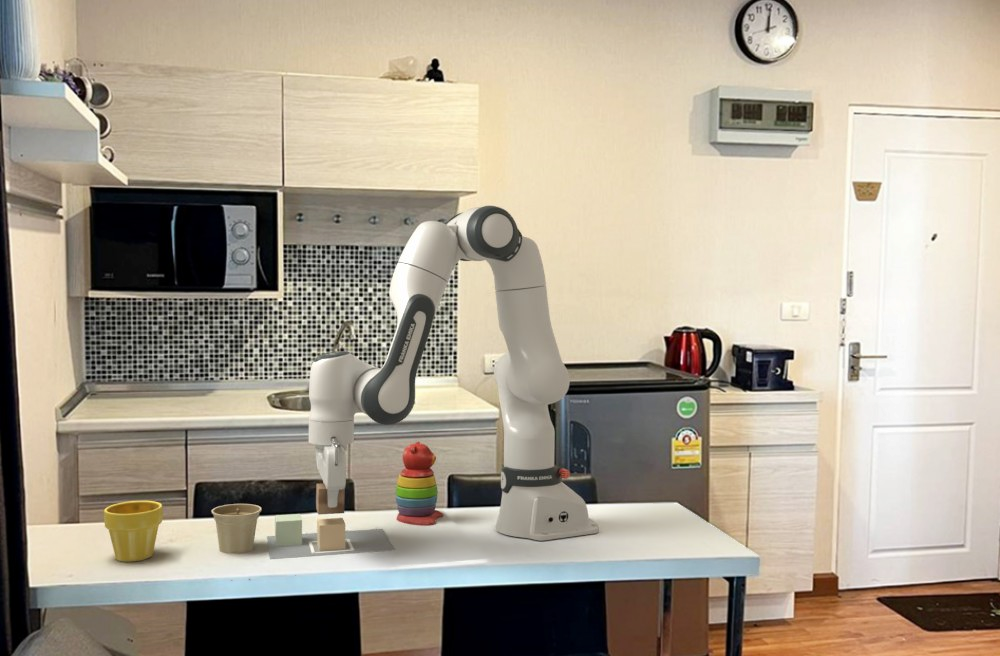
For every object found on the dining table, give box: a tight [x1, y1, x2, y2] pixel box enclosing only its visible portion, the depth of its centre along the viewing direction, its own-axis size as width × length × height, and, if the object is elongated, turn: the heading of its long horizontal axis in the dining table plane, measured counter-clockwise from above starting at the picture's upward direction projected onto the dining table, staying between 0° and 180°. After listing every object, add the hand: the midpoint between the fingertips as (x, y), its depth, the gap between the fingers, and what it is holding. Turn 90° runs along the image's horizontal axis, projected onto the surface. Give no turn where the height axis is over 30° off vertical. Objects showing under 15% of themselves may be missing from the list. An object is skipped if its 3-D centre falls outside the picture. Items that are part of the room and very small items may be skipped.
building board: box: [266, 517, 396, 560], centre depth 179 cm, size 24×16×6 cm, turn 107°
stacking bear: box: [395, 441, 444, 527], centre depth 198 cm, size 11×10×18 cm
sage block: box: [274, 513, 303, 547], centre depth 179 cm, size 5×5×5 cm
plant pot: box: [103, 500, 163, 563], centre depth 170 cm, size 10×10×10 cm
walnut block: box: [315, 483, 346, 516], centre depth 176 cm, size 5×5×5 cm
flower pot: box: [211, 503, 263, 555], centre depth 174 cm, size 9×9×9 cm
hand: (330, 502), depth 176 cm, fingers closed on walnut block, 5 cm apart
